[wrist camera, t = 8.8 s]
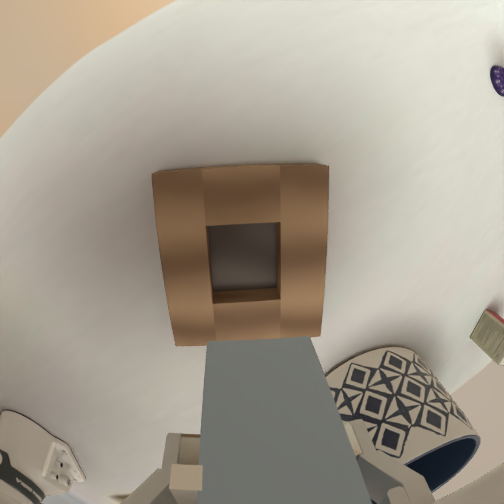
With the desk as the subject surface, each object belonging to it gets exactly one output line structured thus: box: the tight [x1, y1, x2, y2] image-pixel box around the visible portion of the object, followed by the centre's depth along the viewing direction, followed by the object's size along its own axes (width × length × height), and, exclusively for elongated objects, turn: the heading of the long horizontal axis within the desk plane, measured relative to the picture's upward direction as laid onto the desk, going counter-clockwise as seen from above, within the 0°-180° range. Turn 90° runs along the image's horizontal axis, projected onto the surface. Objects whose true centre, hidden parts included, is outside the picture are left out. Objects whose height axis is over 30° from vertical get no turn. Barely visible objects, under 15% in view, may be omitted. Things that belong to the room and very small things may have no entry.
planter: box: [326, 347, 480, 504], centre depth 29 cm, size 18×18×16 cm
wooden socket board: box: [152, 164, 329, 346], centre depth 27 cm, size 16×14×3 cm
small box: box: [470, 310, 504, 366], centre depth 32 cm, size 5×4×8 cm
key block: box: [169, 336, 372, 504], centre depth 9 cm, size 5×5×8 cm
